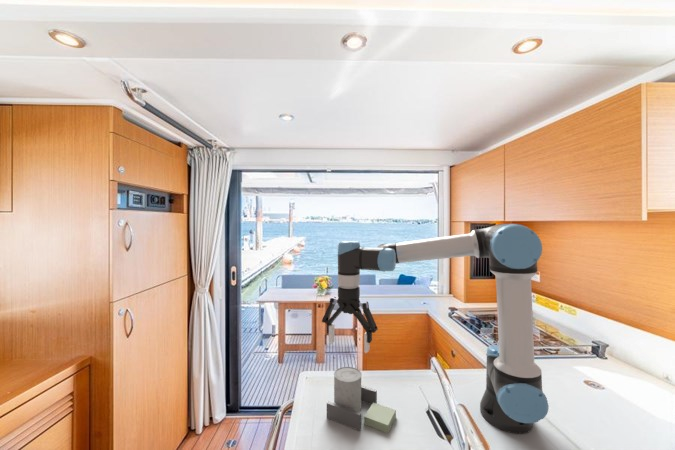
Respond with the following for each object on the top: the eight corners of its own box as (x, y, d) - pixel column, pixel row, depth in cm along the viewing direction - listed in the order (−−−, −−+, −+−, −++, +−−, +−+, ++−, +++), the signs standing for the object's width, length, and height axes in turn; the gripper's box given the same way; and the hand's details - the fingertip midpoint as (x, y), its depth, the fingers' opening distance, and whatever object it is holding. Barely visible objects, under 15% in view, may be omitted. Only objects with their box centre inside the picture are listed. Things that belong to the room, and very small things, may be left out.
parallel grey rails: (376, 403, 101) (376, 390, 101) (359, 431, 88) (359, 415, 88) (346, 393, 107) (346, 380, 107) (326, 417, 94) (326, 403, 94)
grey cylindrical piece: (359, 420, 93) (359, 383, 93) (331, 416, 95) (331, 380, 95) (362, 402, 102) (363, 368, 102) (336, 398, 104) (337, 365, 104)
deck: (395, 417, 94) (395, 409, 94) (387, 433, 87) (388, 425, 87) (373, 409, 98) (373, 402, 98) (364, 424, 91) (364, 416, 91)
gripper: (387, 287, 95) (386, 350, 96) (323, 280, 107) (323, 335, 107) (379, 293, 88) (379, 360, 89) (312, 284, 100) (312, 343, 101)
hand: (348, 347), depth 98 cm, fingers open, 13 cm apart
